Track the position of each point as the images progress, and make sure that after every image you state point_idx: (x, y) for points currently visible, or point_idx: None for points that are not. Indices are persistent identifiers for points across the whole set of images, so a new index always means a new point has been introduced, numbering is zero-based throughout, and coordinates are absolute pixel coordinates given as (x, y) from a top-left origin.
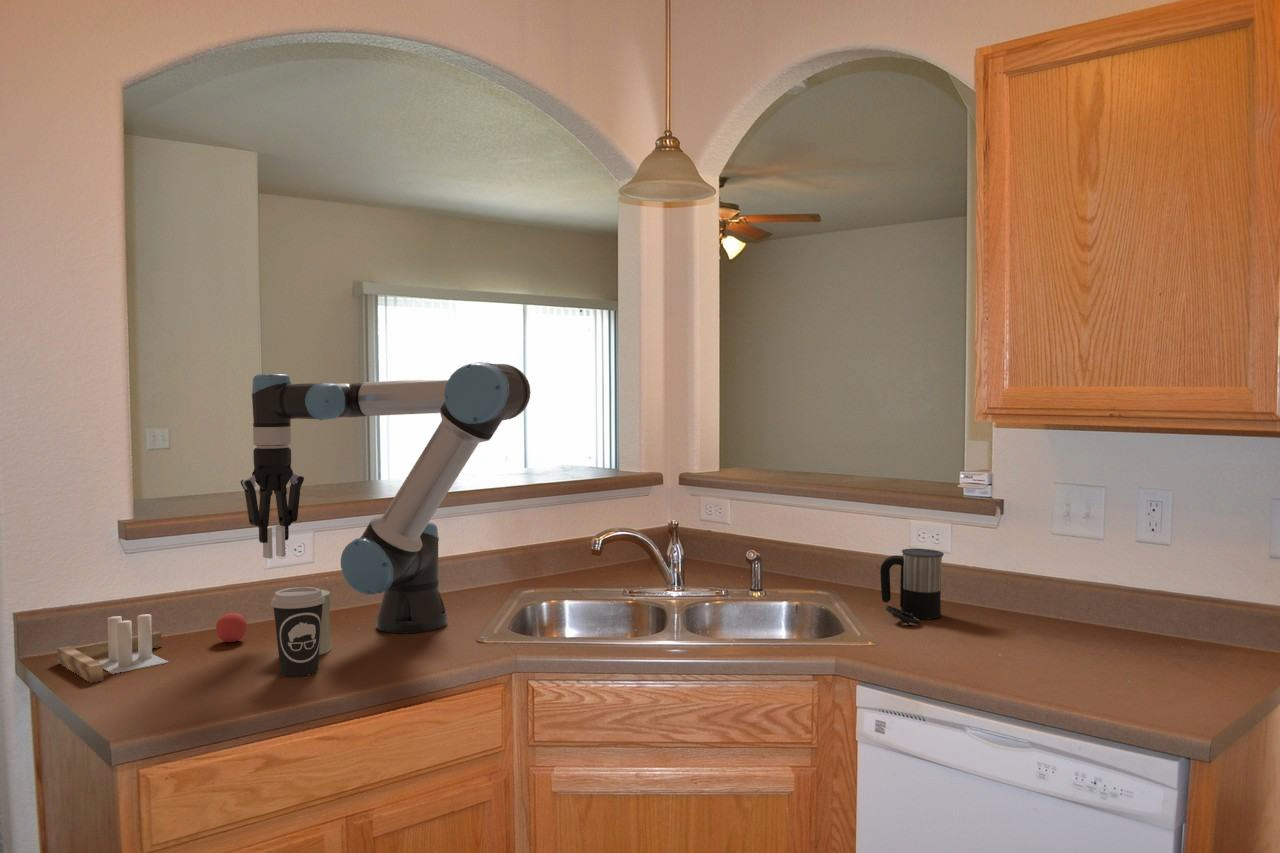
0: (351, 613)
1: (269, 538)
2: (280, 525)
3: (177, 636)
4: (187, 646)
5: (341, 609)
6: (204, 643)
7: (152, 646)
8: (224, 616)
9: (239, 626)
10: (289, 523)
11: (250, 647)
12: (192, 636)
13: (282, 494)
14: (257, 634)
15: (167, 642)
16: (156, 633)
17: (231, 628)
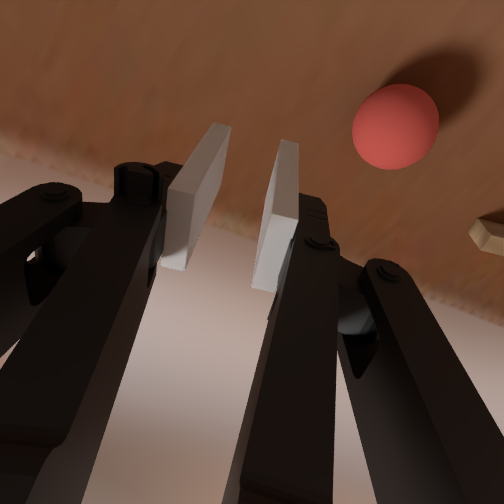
0: (23, 79)
1: (295, 184)
2: (166, 241)
3: (387, 259)
4: (454, 177)
5: (26, 139)
6: (419, 165)
7: (498, 225)
8: (424, 141)
9: (409, 87)
10: (134, 168)
11: (418, 16)
12: (376, 235)
13: (33, 441)
14: (302, 122)
15: (435, 239)
16: (501, 238)
17: (429, 96)
